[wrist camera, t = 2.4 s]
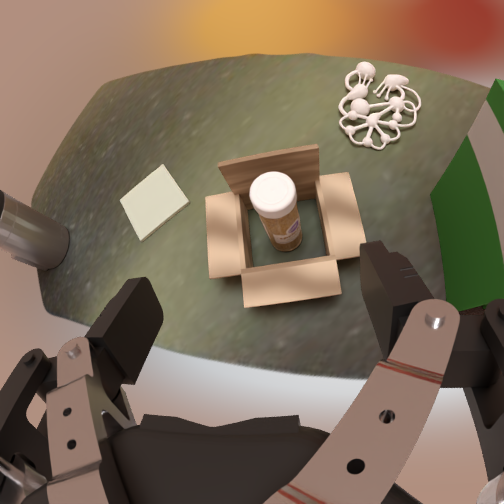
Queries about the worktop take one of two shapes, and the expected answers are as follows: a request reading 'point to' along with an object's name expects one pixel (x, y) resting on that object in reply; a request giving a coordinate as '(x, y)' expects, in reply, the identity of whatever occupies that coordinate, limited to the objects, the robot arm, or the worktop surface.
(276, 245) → the sprinkles bottle
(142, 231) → the coaster
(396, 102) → the tangled rod sculpture
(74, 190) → the worktop surface
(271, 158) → the carton
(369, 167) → the worktop surface
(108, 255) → the worktop surface
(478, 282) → the hardback book
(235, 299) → the worktop surface
